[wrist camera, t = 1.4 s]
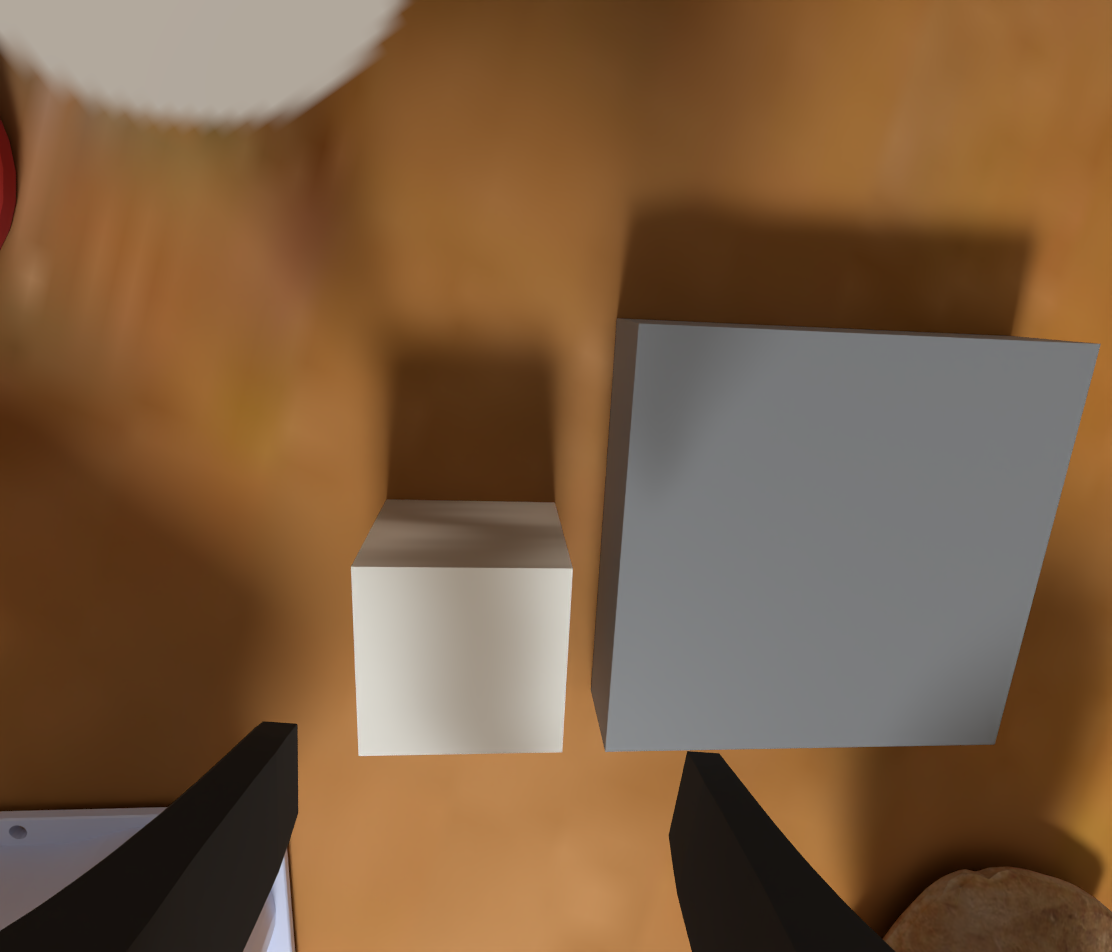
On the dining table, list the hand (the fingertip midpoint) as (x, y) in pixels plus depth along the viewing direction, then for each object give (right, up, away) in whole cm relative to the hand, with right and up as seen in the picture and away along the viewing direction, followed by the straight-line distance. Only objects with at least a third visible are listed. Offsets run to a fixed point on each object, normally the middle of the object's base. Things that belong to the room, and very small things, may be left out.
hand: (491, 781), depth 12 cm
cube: (-1, +2, +8) cm, 9 cm away
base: (+9, +4, +9) cm, 13 cm away
